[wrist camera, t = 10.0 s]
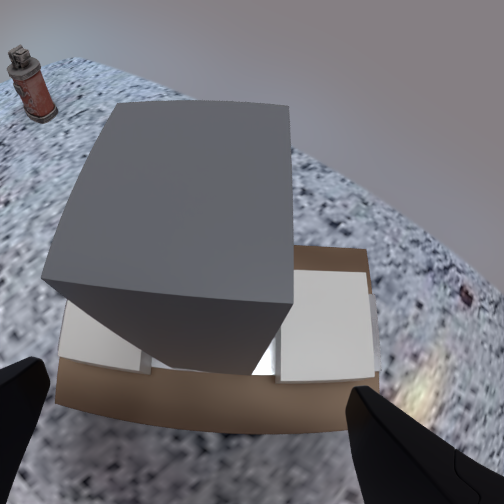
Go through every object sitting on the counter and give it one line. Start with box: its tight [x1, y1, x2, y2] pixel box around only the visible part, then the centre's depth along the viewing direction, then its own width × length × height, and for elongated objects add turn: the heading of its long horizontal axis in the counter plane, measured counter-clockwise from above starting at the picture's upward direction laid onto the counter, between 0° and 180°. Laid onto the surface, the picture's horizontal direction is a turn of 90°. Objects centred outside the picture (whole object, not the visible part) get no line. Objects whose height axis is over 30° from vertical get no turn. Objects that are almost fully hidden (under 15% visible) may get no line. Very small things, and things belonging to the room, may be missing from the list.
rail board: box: [55, 245, 379, 434], centre depth 18 cm, size 12×20×1 cm, turn 88°
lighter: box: [7, 45, 58, 124], centre depth 24 cm, size 8×3×10 cm, turn 54°
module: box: [41, 100, 294, 375], centre depth 12 cm, size 5×4×13 cm
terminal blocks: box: [58, 270, 375, 384], centre depth 16 cm, size 6×17×2 cm, turn 88°
